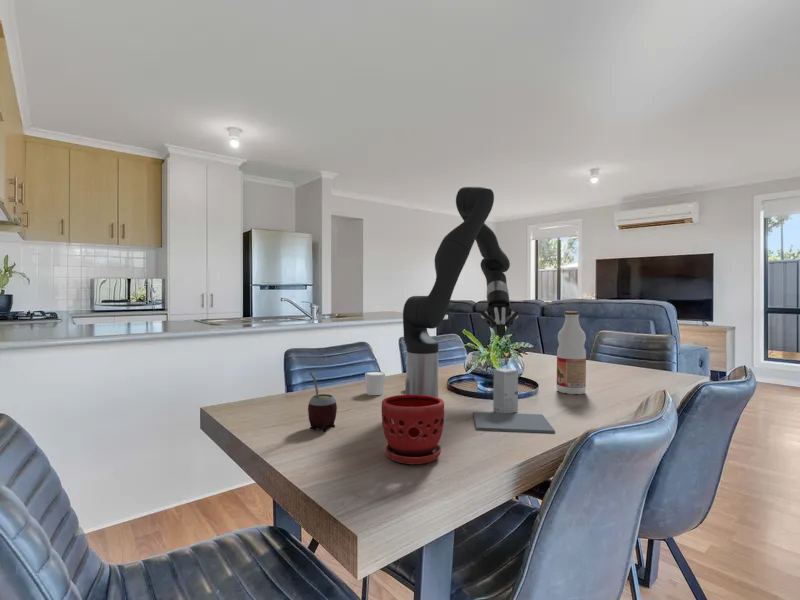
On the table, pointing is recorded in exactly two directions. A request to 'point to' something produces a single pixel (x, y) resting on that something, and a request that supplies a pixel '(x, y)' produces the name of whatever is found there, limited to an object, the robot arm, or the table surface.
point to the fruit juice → (571, 356)
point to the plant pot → (413, 427)
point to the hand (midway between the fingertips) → (501, 335)
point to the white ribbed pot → (374, 383)
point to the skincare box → (505, 391)
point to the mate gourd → (321, 410)
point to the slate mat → (512, 422)
